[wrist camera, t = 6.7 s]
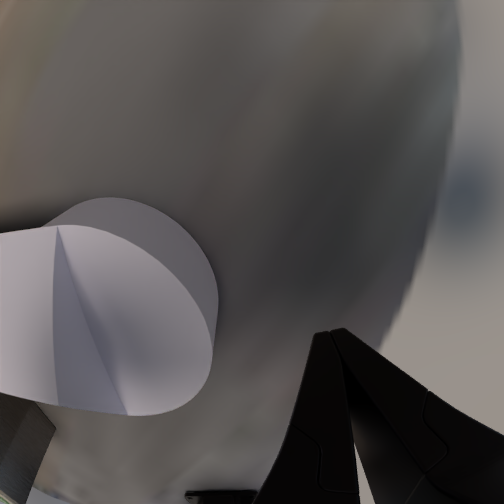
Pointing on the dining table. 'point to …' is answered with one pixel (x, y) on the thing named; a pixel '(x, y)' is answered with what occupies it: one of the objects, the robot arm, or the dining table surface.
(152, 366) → the wedge on round base
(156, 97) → the dining table surface
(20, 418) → the gauge plunger
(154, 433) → the dining table surface
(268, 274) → the dining table surface
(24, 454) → the gauge housing
